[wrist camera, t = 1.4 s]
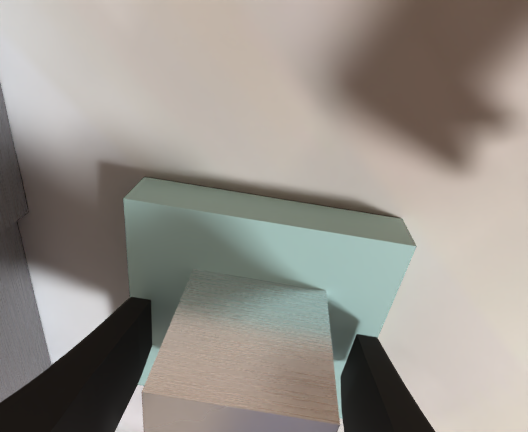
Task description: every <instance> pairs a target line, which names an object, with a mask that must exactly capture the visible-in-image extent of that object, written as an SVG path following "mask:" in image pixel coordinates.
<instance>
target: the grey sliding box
mask: <svg viewBox="0 0 528 432" xmlns="http://www.w3.org/2000/svg"><path fill="white" fill-rule="evenodd" d="M27 213H28V208H27V203H26V198H25V194H24V189H23V185H22V180H21V176H20V171H19V166H18V162H17V157H16V153H15V148H14V144H13V139H12V134H11V130H10V125H9V121H8V116H7V112H6V107H5V102H4V98H3V93H2V89H1V84H0V402H2V401H3V400H5V399H6V398H7V397H9V396H10V395H12V394H13V393H15V392H16V391H18V390H19V389H20V388H22V387H23V386H25V385H26V384H27V383H29V382H30V381H31V380H33V379H34V378H36V377H37V376H38V375H40V374H41V373H42V372H43V371H45V370H46V369H47V368H49V367H50V366H51V362H50V358H49V354H48V349H47V345H46V341H45V337H44V333H43V329H42V325H41V320H40V316H39V312H38V308H37V304H36V300H35V295H34V291H33V287H32V283H31V279H30V275H29V271H28V266H27V262H26V258H25V254H24V250H23V246H22V242H21V237H20V233H19V229H18V225H17V220H18V219H20V218H21V217H23V216H24V215H25V214H27Z"/></svg>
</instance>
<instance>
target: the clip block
mask: <svg viewBox="0 0 528 432" xmlns="http://www.w3.org/2000/svg"><path fill="white" fill-rule="evenodd" d="M142 407H143V426H144V432H337V431H338V428H339V426H340V421H339V411H338V401H337V391H336V381H335V371H334V361H333V352H332V342H331V332H330V322H329V312H328V302H327V292H326V290H320V289H314V288H307V287H301V286H295V285H289V284H283V283H277V282H271V281H265V280H259V279H253V278H247V277H241V276H234V275H228V274H222V273H216V272H210V271H204V270H198V269H193V271H192V273H191V276H190V278H189V280H188V283H187V285H186V288H185V290H184V292H183V295H182V297H181V299H180V302H179V304H178V307H177V309H176V311H175V314H174V316H173V319H172V321H171V323H170V326H169V328H168V330H167V333H166V335H165V338H164V340H163V342H162V345H161V347H160V349H159V352H158V354H157V357H156V359H155V361H154V364H153V366H152V369H151V371H150V373H149V376H148V378H147V380H146V383H145V385H144V388H143V390H142Z"/></svg>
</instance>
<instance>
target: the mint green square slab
mask: <svg viewBox="0 0 528 432" xmlns="http://www.w3.org/2000/svg"><path fill="white" fill-rule="evenodd" d="M123 201H124V217H125V232H126V247H127V263H128V278H129V293H130V297H137V298H143V299H149V300H151V315H152V348H151V351H150V353H149V356H148V359H147V362H146V365H145V368H144V370H143V373H142V376H141V378H140V380H139V382H138V385H143V386H144V385H145V383H146V380H147V378H148V376H149V373H150V371H151V369H152V366H153V364H154V361H155V359H156V357H157V354H158V352H159V349H160V347H161V345H162V342H163V340H164V338H165V335H166V333H167V330H168V328H169V326H170V323H171V321H172V319H173V316H174V314H175V311H176V309H177V307H178V304H179V302H180V299H181V297H182V295H183V292H184V290H185V288H186V285H187V283H188V280H189V278H190V276H191V273H192V271H193V269H198V270H204V271H210V272H216V273H222V274H228V275H234V276H241V277H247V278H253V279H259V280H265V281H271V282H277V283H283V284H289V285H295V286H301V287H307V288H314V289H320V290H326V292H327V302H328V312H329V322H330V332H331V342H332V352H333V361H334V371H335V381H336V391H337V401H338V411H339V418H341V419H343V418H342V409H341V380H340V376H341V374H342V371H343V369H344V366H345V363H346V361H347V358H348V355H349V353H350V350H351V348H352V345H353V342H354V340H355V337H356V334H361V335H367V336H373V337H377V338H378V336H379V333H380V331H381V329H382V326H383V324H384V322H385V319H386V317H387V315H388V312H389V310H390V308H391V305H392V303H393V301H394V298H395V296H396V293H397V291H398V289H399V286H400V284H401V282H402V279H403V277H404V275H405V272H406V270H407V268H408V265H409V263H410V261H411V258H412V256H413V254H414V251H415V249H416V244H415V242H414V240H413V239H412V237H411V235H410V233H409V231H408V229H407V227H406V225H405V223H404V221H403V219H400V218H394V217H388V216H382V215H375V214H369V213H363V212H357V211H351V210H345V209H339V208H332V207H326V206H320V205H314V204H308V203H302V202H296V201H289V200H283V199H277V198H271V197H265V196H259V195H253V194H246V193H240V192H234V191H228V190H222V189H216V188H210V187H203V186H197V185H191V184H185V183H179V182H173V181H167V180H160V179H154V178H148V177H144V178H143V179H142V180H141V181H140V182H139V183H138V184H137V185H136V186H135V187H134V188H133V189H132V190H131V191H130V192H129V193H128V194H127V195H126V196H125V197H124V198H123Z"/></svg>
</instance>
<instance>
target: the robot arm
mask: <svg viewBox="0 0 528 432" xmlns="http://www.w3.org/2000/svg"><path fill="white" fill-rule="evenodd" d="M151 348H152V315H151V300H149V299H143V298H137V297H130V298H129V299H128V300H126V301H125V302H124V303H123V304H122V305H121V306H120V307H119V308H118V309H117V310H116V311H115V312H114V313H113V314H111V315H110V316H109V317H108V318H107V319H106V320H105V321H104V322H103V323H101V324H100V325H99V326H98V327H97V328H96V329H95V330H94V331H92V332H91V333H90V334H89V335H88V336H87V337H85V338H84V339H83V340H82V341H81V342H80V343H78V344H77V345H76V346H75V347H74V348H73V349H71V350H70V351H69V352H68V353H66V354H65V355H64V356H63V357H61V358H60V359H59V360H58V361H56V362H55V363H54V364H52V365H51V366H50V367H49V368H47V369H46V370H45V371H43V372H42V373H41V374H40V375H38V376H37V377H36V378H34V379H33V380H31V381H30V382H29V383H27V384H26V385H25V386H23V387H22V388H20V389H19V390H18V391H16V392H15V393H13V394H12V395H10V396H9V397H7V398H6V399H5V400H3V401H2V402H0V432H115V430H116V428H117V426H118V424H119V422H120V420H121V417H122V415H123V413H124V411H125V409H126V407H127V405H128V403H129V401H130V399H131V397H132V395H133V393H134V391H135V389H136V387H137V385H138V382H139V380H140V378H141V376H142V373H143V370H144V368H145V365H146V362H147V359H148V356H149V353H150V351H151ZM340 380H341V409H342V418H343V425H344V432H435V430H434V429H433V428H432V426H431V425H430V423H429V422H428V420H427V419H426V417H425V416H424V414H423V413H422V411H421V410H420V408H419V406H418V405H417V403H416V402H415V400H414V399H413V397H412V395H411V394H410V392H409V391H408V389H407V388H406V386H405V384H404V383H403V381H402V379H401V378H400V376H399V374H398V373H397V371H396V369H395V368H394V366H393V364H392V362H391V361H390V359H389V357H388V355H387V354H386V352H385V350H384V349H383V347H382V345H381V343H380V342H379V340H378V339H377V337H373V336H367V335H361V334H356V337H355V340H354V342H353V345H352V348H351V350H350V353H349V355H348V358H347V361H346V363H345V366H344V369H343V371H342V374H341V376H340Z"/></svg>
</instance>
